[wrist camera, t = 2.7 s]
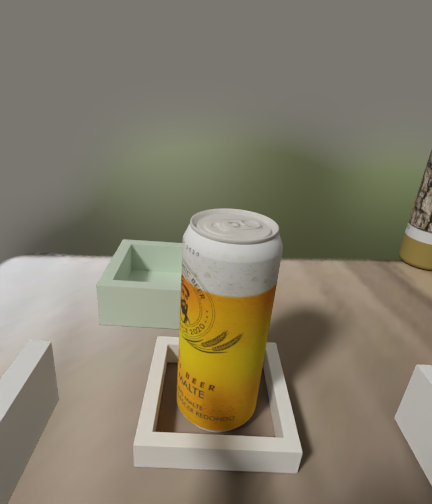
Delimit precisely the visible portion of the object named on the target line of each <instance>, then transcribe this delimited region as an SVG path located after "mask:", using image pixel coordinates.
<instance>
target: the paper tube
mask: <svg viewBox="0 0 432 504" xmlns="http://www.w3.org/2000/svg"><path fill="white" fill-rule="evenodd" d="M399 256H400V258H401V259H402V260H403V261H404V262H406V263H407V264H409V265H412V266H414V267H417V268H420V269H425V270H432V151H431V153H430V157H429V160H428V163H427V166H426V169H425V172H424V175H423V178H422V181H421V184H420V188H419V190H418V194H417V197H416V200H415V203H414V206H413V209H412V213H411V216H410V218H409V222H408V225H407V228H406V231H405V235H404V238H403V241H402V244H401V247H400V250H399Z"/></svg>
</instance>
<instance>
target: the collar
mask: <svg viewBox="0 0 432 504" xmlns="http://www.w3.org/2000/svg"><path fill="white" fill-rule="evenodd" d="M178 350H179V337H165V336H157V341H156V345H155V350H154V354H153V359H152V363H151V368H150V372H149V377H148V381H147V386H146V390H145V395H144V400H143V404H142V409H141V413H140V418H139V422H138V427H137V431H136V436H135V440H134V445H133V449H134V467H157V468H181V469H204V470H228V471H252V472H276V473H297V472H298V468H299V465H300V461H301V457H302V453H303V452H302V448H301V444H300V440H299V436H298V432H297V428H296V424H295V419H294V415H293V411H292V407H291V403H290V399H289V395H288V391H287V387H286V382H285V378H284V374H283V370H282V366H281V362H280V358H279V354H278V349H277V345H276V343H271V342H267V343H266V349H265V355H264V361H263V369H264V375H265V380H266V386H267V392H268V397H269V403H270V409H271V414H272V420H273V426H274V431H275V437H256V436H234V435H212V434H191V433H169V432H156V427H157V421H158V415H159V409H160V403H161V397H162V391H163V385H164V379H165V373H166V367H167V362H171V363H178Z"/></svg>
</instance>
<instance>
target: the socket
mask: <svg viewBox="0 0 432 504" xmlns="http://www.w3.org/2000/svg"><path fill="white" fill-rule="evenodd" d="M182 249H183V243H170V242H155V241H138V240H124V239H123V241H122V242H121V244H120V246H119V247H118V249H117V251H116V253H115V254H114V256H113V258H112V260H111V261H110V263H109V265H108V266H107V268H106V270H105V272H104V273H103V275H102V277H101V278H100V280H99V282H98V284H97V285H96V286H97V299H98V312H99V325H115V326H132V327H150V328H167V329H179V325H180V300H181V274H182Z"/></svg>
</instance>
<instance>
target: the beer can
mask: <svg viewBox="0 0 432 504" xmlns="http://www.w3.org/2000/svg"><path fill="white" fill-rule="evenodd" d="M282 249H283V245H282V242H281V239H280V236H279V226H278V225H277V223H276V222H275V221H273V220H272V219H270V218H268V217H266V216H264V215H261V214H258V213H255V212H250V211H246V210H239V209H211V210H205V211H201V212H199V213H196V214H195V215H193V216H192V218H191V221H190V225H189V227H188V228H187V230H186V232H185V233H184V235H183V249H182V274H181V300H180V325H179V350H178V375H177V404H178V407H179V409H180V411H181V412H182V414H183V415H184V416H185V417H186V418H187V419H188V420H189V421H190V422H192V423H193V424H194V425H196V426H197V427H199V428H201V429H203V430H206V431H210V432H226V431H229V430H232V429H234V428H237V427H239V426H241V425H243V424H244V423H245V422H247V421H248V420H249V419H250V418H251V416H252V415H253V413H254V411H255V407H256V402H257V396H258V390H259V384H260V378H261V373H262V367H263V361H264V355H265V349H266V343H267V337H268V331H269V326H270V320H271V314H272V308H273V302H274V296H275V290H276V285H277V279H278V273H279V267H280V261H281V255H282Z"/></svg>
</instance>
